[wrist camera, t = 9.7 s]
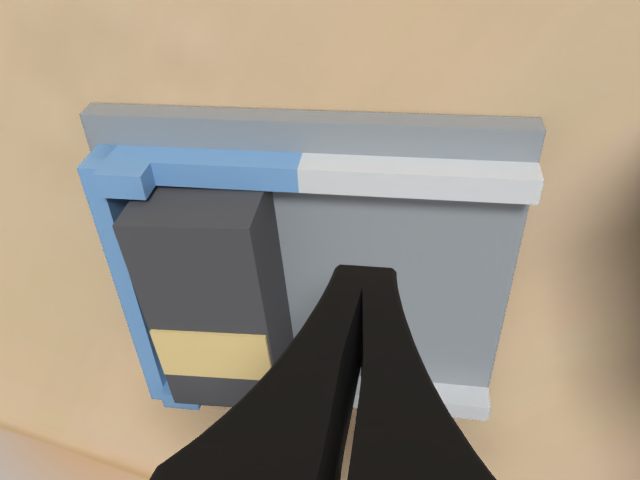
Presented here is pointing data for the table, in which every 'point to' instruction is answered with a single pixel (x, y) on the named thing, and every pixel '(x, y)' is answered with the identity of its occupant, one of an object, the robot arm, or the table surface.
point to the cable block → (208, 287)
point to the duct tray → (344, 212)
